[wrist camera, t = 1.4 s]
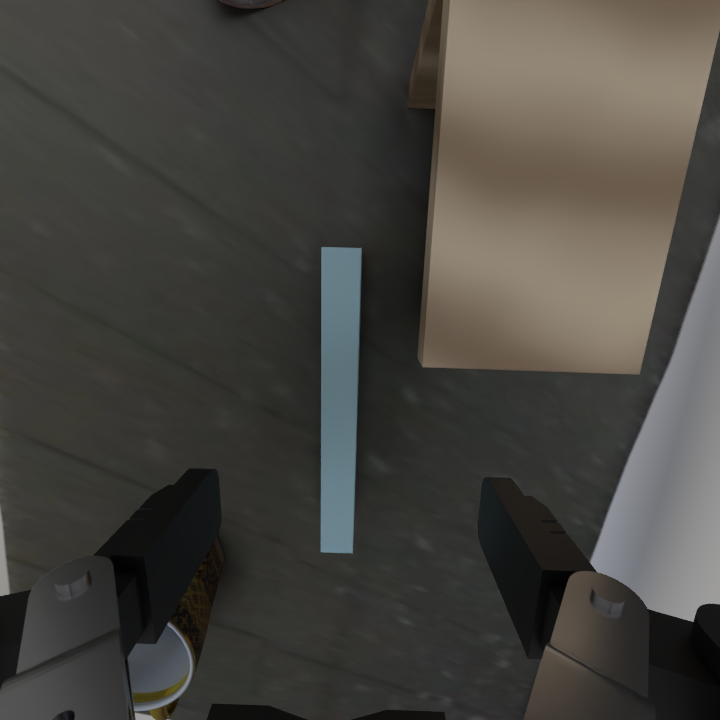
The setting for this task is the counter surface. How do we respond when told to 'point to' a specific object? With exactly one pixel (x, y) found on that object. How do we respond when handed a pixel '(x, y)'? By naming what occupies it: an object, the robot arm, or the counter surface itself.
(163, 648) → the ceramic cup
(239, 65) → the counter surface
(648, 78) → the wooden bookend
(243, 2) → the tin
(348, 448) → the bar
